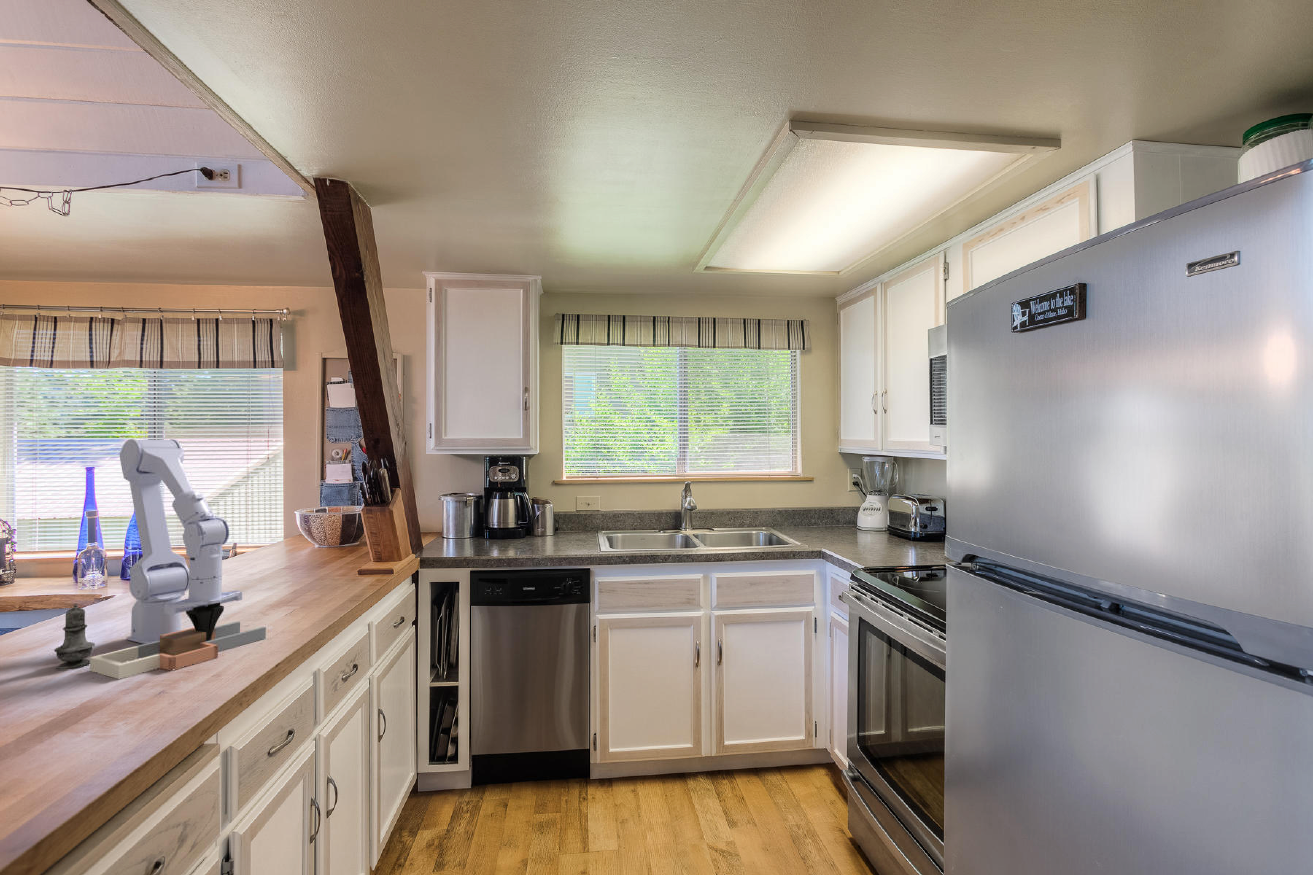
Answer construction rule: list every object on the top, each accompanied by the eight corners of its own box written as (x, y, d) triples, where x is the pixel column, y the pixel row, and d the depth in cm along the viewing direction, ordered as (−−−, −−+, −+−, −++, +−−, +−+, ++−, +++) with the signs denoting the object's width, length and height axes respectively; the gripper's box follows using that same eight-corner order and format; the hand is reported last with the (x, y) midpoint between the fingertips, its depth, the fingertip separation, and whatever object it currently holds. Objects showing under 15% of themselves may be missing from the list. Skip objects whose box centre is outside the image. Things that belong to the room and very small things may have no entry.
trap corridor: (79, 667, 125) (80, 654, 125) (227, 630, 150) (227, 619, 150) (130, 682, 117) (130, 668, 117) (276, 640, 142) (276, 629, 142)
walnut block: (159, 656, 131) (159, 637, 131) (190, 648, 137) (191, 629, 137) (174, 660, 129) (175, 640, 129) (205, 651, 135) (206, 632, 135)
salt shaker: (70, 671, 122) (71, 608, 122) (45, 669, 123) (46, 606, 124) (102, 661, 128) (103, 600, 128) (78, 659, 129) (79, 598, 129)
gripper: (179, 585, 129) (178, 654, 129) (251, 572, 142) (250, 634, 142) (158, 581, 132) (157, 648, 132) (231, 569, 145) (230, 630, 145)
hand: (204, 641), depth 137 cm, fingers closed
